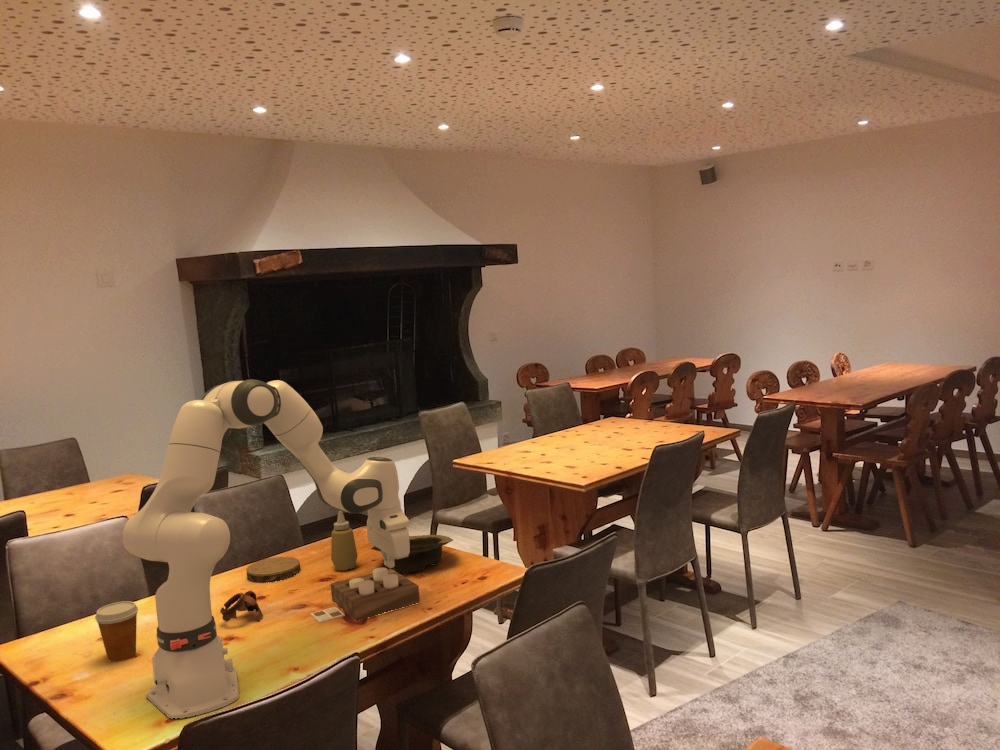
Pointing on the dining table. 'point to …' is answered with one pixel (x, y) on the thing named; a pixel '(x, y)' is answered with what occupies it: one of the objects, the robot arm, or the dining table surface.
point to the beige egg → (379, 574)
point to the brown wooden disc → (273, 569)
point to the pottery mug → (241, 605)
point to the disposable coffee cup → (118, 629)
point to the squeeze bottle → (343, 545)
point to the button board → (374, 597)
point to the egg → (355, 582)
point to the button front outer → (390, 581)
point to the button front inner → (366, 587)
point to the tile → (327, 614)
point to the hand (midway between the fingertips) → (389, 566)
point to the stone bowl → (421, 553)
